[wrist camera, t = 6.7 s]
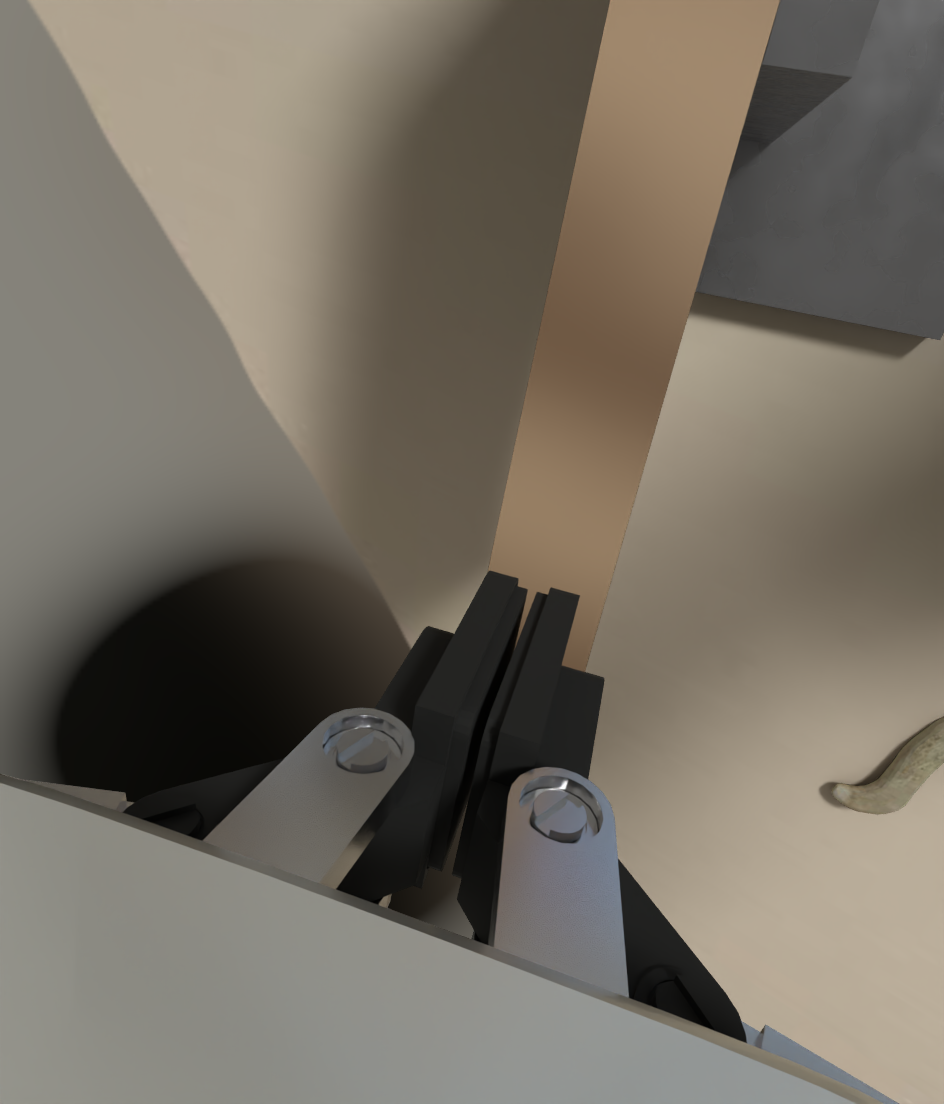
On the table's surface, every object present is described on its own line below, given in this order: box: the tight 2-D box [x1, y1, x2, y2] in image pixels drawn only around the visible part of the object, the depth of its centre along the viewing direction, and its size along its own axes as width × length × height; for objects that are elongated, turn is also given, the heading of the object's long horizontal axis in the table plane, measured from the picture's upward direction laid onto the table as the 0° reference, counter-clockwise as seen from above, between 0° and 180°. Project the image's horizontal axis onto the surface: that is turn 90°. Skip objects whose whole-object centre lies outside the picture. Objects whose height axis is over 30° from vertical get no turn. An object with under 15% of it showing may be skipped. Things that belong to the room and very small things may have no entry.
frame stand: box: [695, 0, 944, 340], centre depth 23 cm, size 16×12×19 cm
